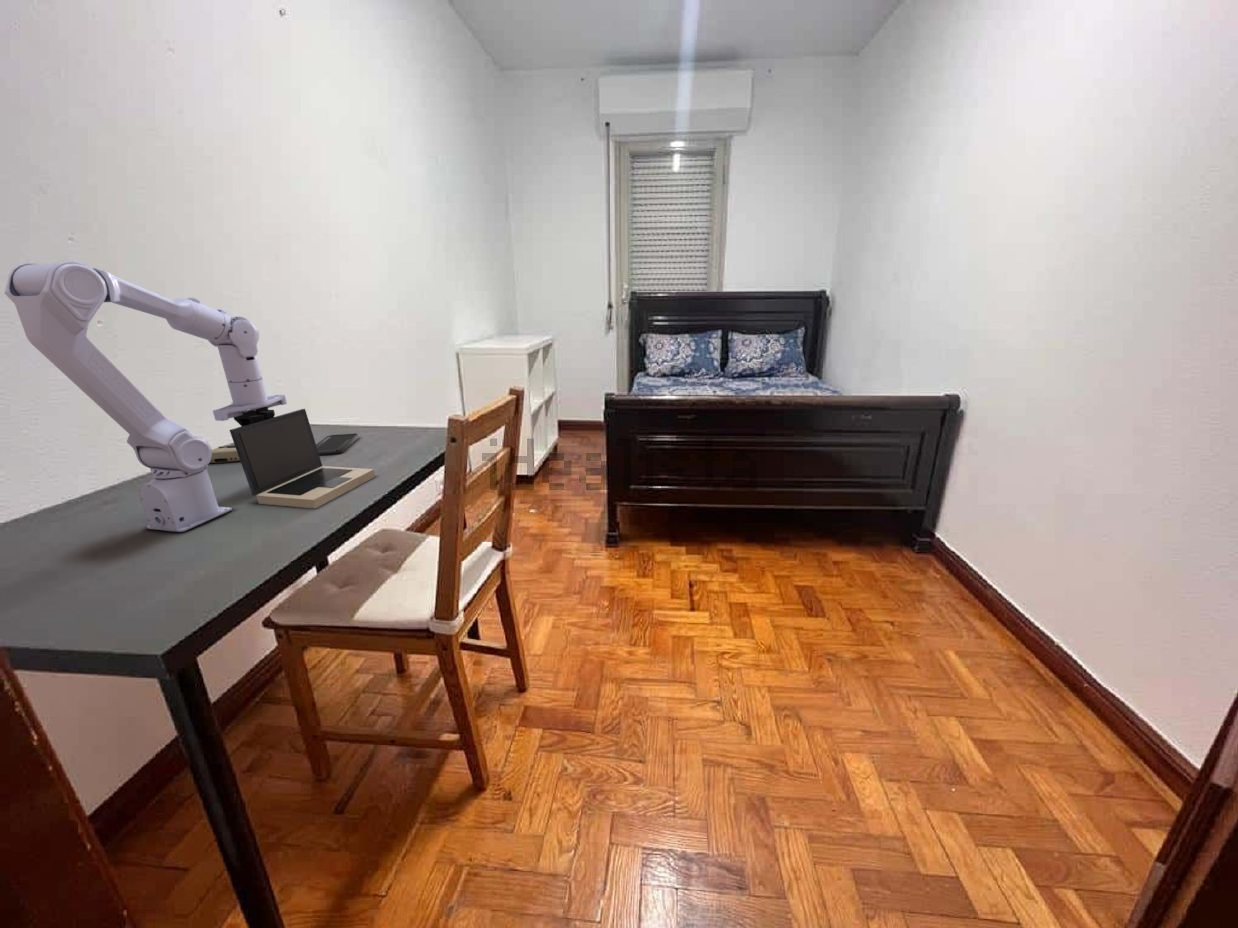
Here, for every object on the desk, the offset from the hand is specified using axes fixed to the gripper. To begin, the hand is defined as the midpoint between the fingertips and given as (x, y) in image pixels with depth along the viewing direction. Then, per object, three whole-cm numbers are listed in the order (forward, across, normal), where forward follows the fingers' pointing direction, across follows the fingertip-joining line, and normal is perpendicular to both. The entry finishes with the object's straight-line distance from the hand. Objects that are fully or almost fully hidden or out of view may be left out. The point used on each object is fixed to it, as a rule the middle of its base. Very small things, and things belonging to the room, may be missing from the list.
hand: (262, 446), depth 105 cm
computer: (+9, -16, -23) cm, 29 cm away
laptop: (+9, 0, +12) cm, 15 cm away
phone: (+9, -27, -8) cm, 29 cm away
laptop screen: (0, 0, +5) cm, 5 cm away
